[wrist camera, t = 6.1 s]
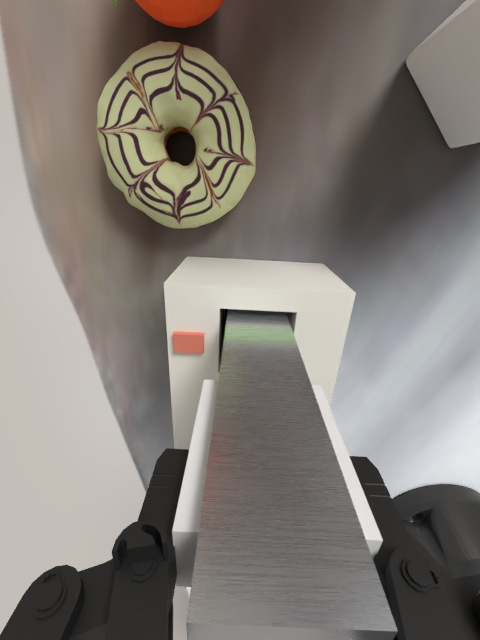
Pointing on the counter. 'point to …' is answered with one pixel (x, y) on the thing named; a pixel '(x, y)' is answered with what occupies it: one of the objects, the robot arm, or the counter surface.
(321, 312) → the housing
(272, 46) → the counter surface
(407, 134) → the counter surface
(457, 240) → the counter surface
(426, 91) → the medicine bottle
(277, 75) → the counter surface
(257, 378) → the upper square grey bar
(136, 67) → the decorated donut
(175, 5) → the clementine
